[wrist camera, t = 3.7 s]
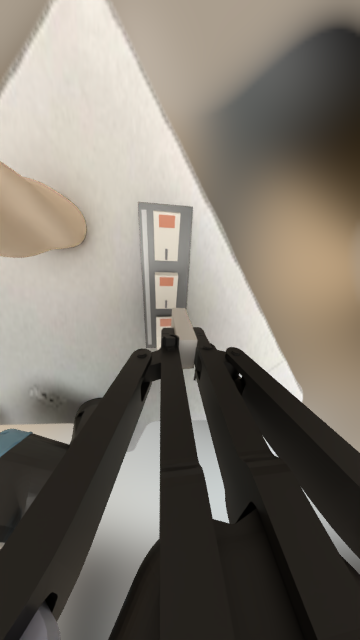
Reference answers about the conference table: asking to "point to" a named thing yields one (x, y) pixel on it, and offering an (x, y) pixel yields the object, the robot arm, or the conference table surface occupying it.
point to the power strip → (162, 263)
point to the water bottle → (35, 217)
